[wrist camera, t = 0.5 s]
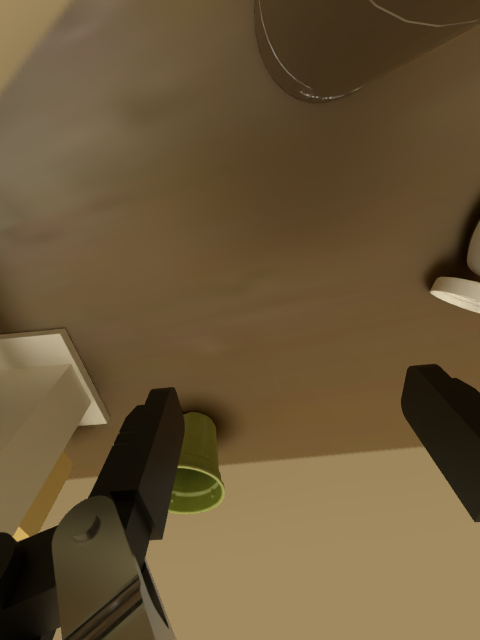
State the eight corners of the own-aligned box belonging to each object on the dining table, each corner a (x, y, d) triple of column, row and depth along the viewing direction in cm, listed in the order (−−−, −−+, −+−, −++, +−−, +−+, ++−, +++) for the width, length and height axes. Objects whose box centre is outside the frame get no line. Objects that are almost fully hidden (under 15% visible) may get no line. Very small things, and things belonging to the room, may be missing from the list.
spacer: (-1, 454, 32) (-61, 530, 26) (62, 449, 32) (18, 525, 25) (13, 469, 34) (-41, 545, 27) (73, 465, 33) (34, 540, 27)
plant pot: (149, 437, 39) (128, 503, 32) (170, 392, 35) (152, 458, 27) (211, 454, 41) (206, 520, 34) (239, 414, 37) (239, 480, 29)
